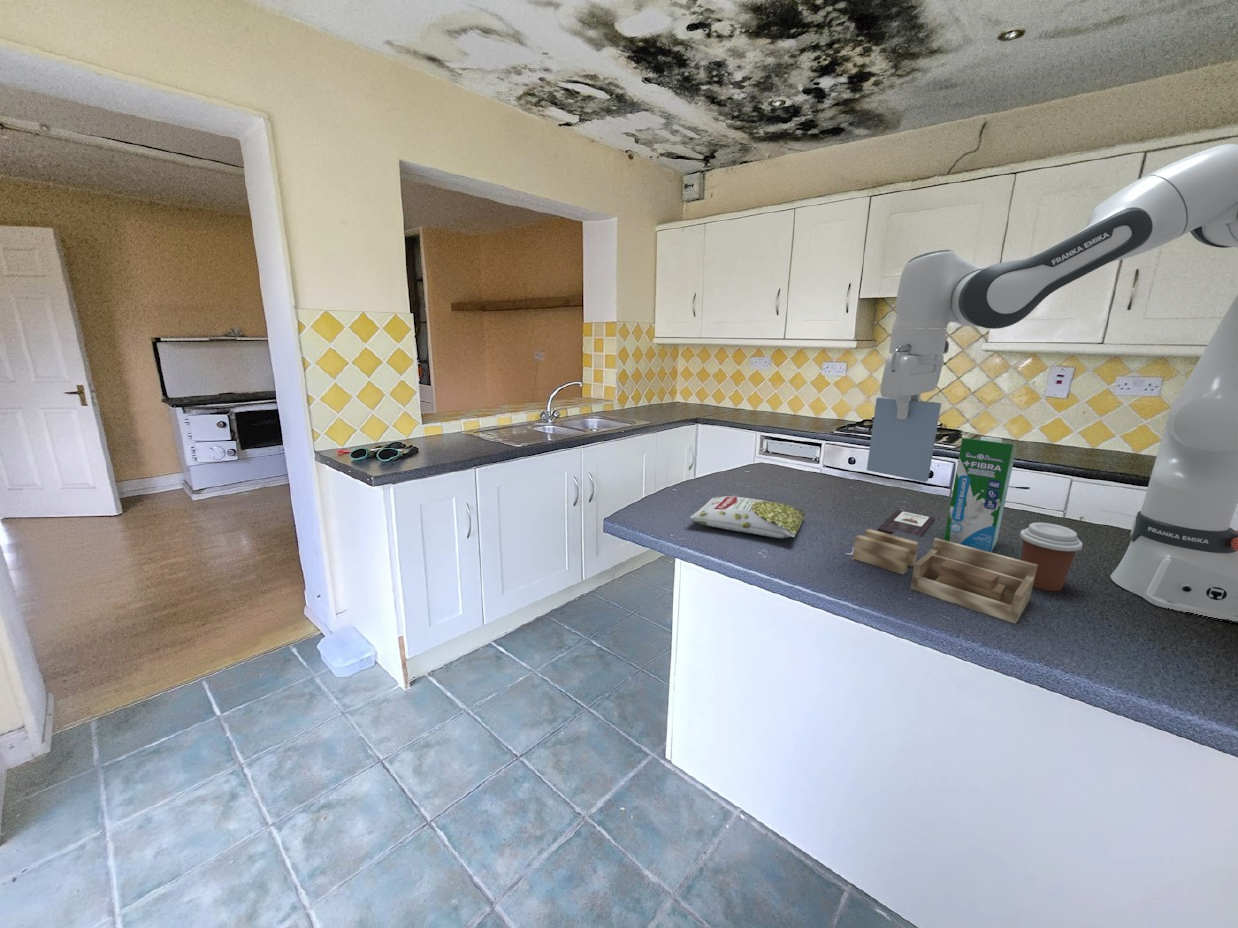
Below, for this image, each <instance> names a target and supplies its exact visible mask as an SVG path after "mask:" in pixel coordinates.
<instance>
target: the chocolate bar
mask: <svg viewBox="0 0 1238 928" xmlns="http://www.w3.org/2000/svg"><path fill="white" fill-rule="evenodd" d="M934 522H936V517H932V516H931V517H930V516H926V515H922V514H916V513H913V512H907V511H903V510H896V511H895V512H894V513H893V514H892V515H891V516H890V517H888V519H887V520H885V521H884V522H883V523H882V524H881V525H880V526H879V527H878V528H877V531H879V532H883V533H886V534H890V535H893V534H894V533H896V532H897V531H898V532H901V533H904V534H909V535H913V536H916V537H921V538H923V536H924V534H925V533H926V532H927V531H928V530H929V528H930V527H932V524H933V523H934Z"/></svg>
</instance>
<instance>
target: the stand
mask: <svg viewBox="0 0 1238 928" xmlns="http://www.w3.org/2000/svg"><path fill="white" fill-rule="evenodd" d="M854 537H855V538H854V543H853V545H854V546H853V552H852V559H851V561H852V562H853V561H854V560H857V561H860V562H863V563H865V564H870V565H872V566H876V567H878V568H881V569H885V570H887V571H891V572H895V573H897V574H900V575H904V574H905V573H907V572H908V566H909V567H913V568H914V564H915V563H916V562H917V558H918V550H919V546H920V542H918V541H915V540H912V539H908V538H904V537H900V536H896V535H893V534H888V533H884V532H880V531H878V530H874V529H871V528H868V529H866V530H865V531H864V535H861V534H858V535H856V536H854Z"/></svg>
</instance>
